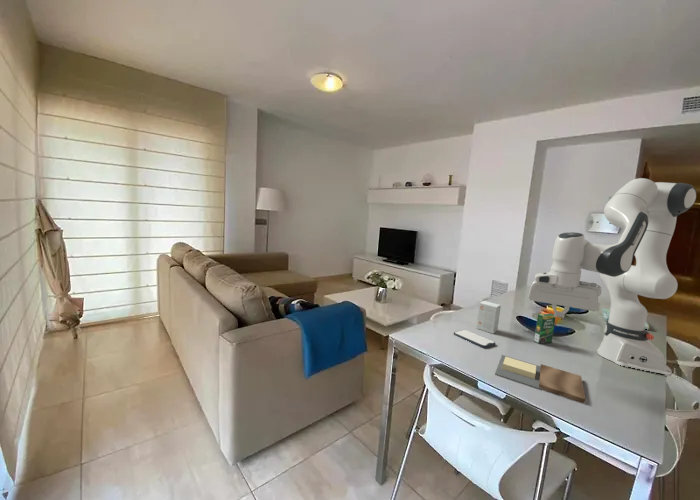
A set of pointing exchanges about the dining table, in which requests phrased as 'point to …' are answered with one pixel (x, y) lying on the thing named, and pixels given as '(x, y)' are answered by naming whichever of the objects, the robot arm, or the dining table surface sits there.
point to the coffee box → (544, 328)
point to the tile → (519, 367)
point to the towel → (607, 312)
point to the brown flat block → (561, 383)
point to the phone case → (475, 339)
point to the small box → (488, 316)
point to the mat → (516, 376)
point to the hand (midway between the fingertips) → (558, 317)
